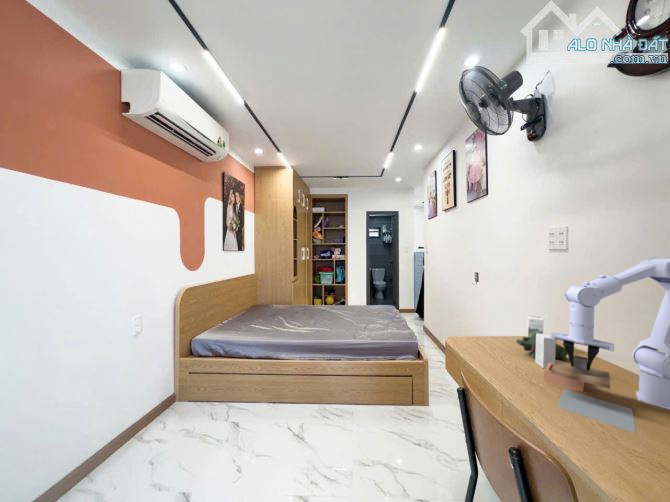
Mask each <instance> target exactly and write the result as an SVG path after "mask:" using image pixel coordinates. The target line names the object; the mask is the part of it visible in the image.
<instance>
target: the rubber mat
mask: <svg viewBox="0 0 670 502" xmlns="http://www.w3.org/2000/svg"><path fill="white" fill-rule="evenodd" d="M559 398H560V399H559V402H558V404H557V408H559V409H562V410H566V411H569V412H572V413H573V414H576V415H580V416H583V417H585V418H589V419H592V420H594V421H597V422H601V423H604V424H606V425H609V426H613V427H616V428H619V429H622V430H624V431H628V432H631V433H633V434H636V433H637V432H636V425H635V419H634V413H633V409H632V408H629V407H626V406H622V405H619V404H615V403H613V402H608V401H605V400H603V399H602V400H601V399H599V398H596V397H592V396H589V395H585V394H583V393H578V392H576V391H575V392H574V391H572V390H568V389H565V388H564V389H563V390H562V392H561V396H560V397H559Z"/></svg>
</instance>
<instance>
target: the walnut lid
mask: <svg viewBox="0 0 670 502" xmlns="http://www.w3.org/2000/svg"><path fill="white" fill-rule="evenodd" d="M587 361H588V357H586V356H585V357H584V356H582V355H581V356H580V355H576V354H574V362H573V367H572V366H571V363H570V362H564V361H563V360H559V359H555V363H554V365H553V367H552V369H551V373H552V374H556V375H560V376H564V377H567V378H571V379H575V380H579V381H582V382H585V383H587V384H591V385H594V386H598V387H601V388H605V389H608V390H609V389H610V390H611V380H610V379H611V375H610V372H609V371H605V370H601V369H596V368H594V367H593V368H592V367H590V371H589V370H587Z"/></svg>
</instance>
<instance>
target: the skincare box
mask: <svg viewBox="0 0 670 502" xmlns="http://www.w3.org/2000/svg"><path fill="white" fill-rule="evenodd" d="M556 341H557V340H552V339H551V335H549V334H545V333H543V334H537V333H536V353H535V358H534V361H535V363H536V365H538V366H539V367H541V368H543V369H545V368H546V366H547V364H548V362H550V363H555V361H556V356H555V346H556V343H557V342H556Z"/></svg>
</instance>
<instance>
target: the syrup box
mask: <svg viewBox="0 0 670 502" xmlns="http://www.w3.org/2000/svg"><path fill="white" fill-rule="evenodd" d="M536 332H537V333H539V334H544V319H543V317H542V316H534V315H527V318H526V337H532V336H533V335H534V334H535V333H536Z"/></svg>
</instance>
